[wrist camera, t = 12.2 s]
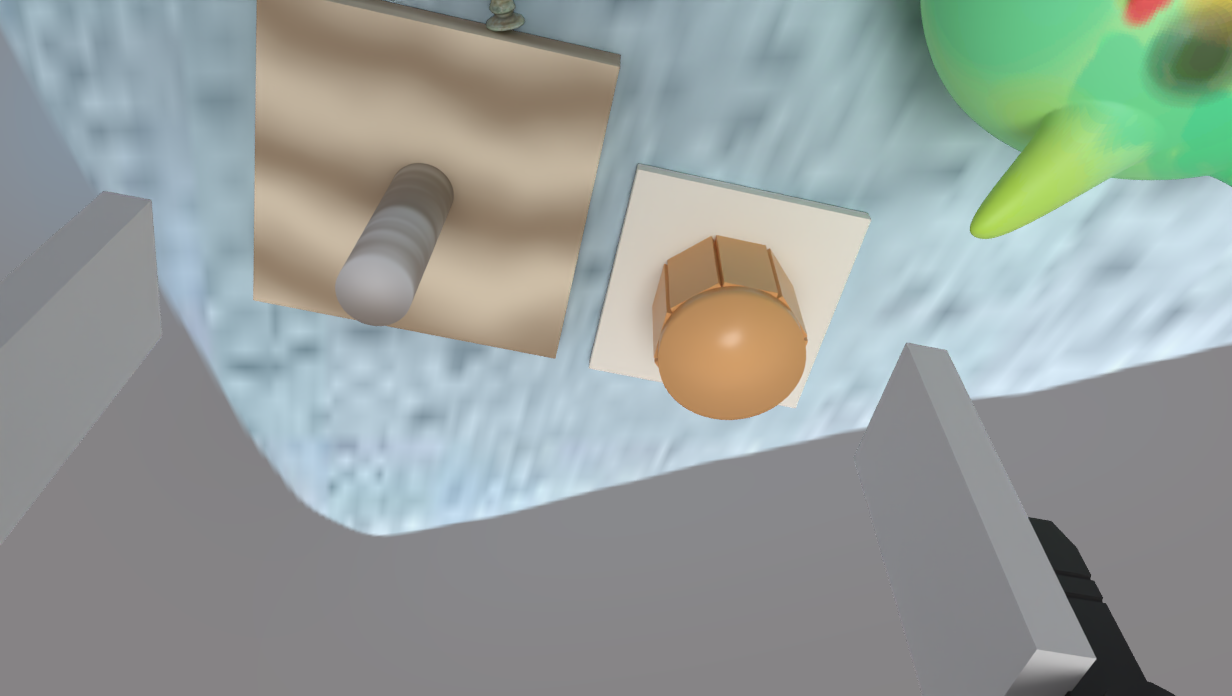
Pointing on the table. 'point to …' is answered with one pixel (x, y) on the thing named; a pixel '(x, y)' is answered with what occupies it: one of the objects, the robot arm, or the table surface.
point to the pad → (699, 208)
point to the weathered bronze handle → (504, 16)
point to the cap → (727, 329)
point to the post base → (435, 116)
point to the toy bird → (1087, 93)
